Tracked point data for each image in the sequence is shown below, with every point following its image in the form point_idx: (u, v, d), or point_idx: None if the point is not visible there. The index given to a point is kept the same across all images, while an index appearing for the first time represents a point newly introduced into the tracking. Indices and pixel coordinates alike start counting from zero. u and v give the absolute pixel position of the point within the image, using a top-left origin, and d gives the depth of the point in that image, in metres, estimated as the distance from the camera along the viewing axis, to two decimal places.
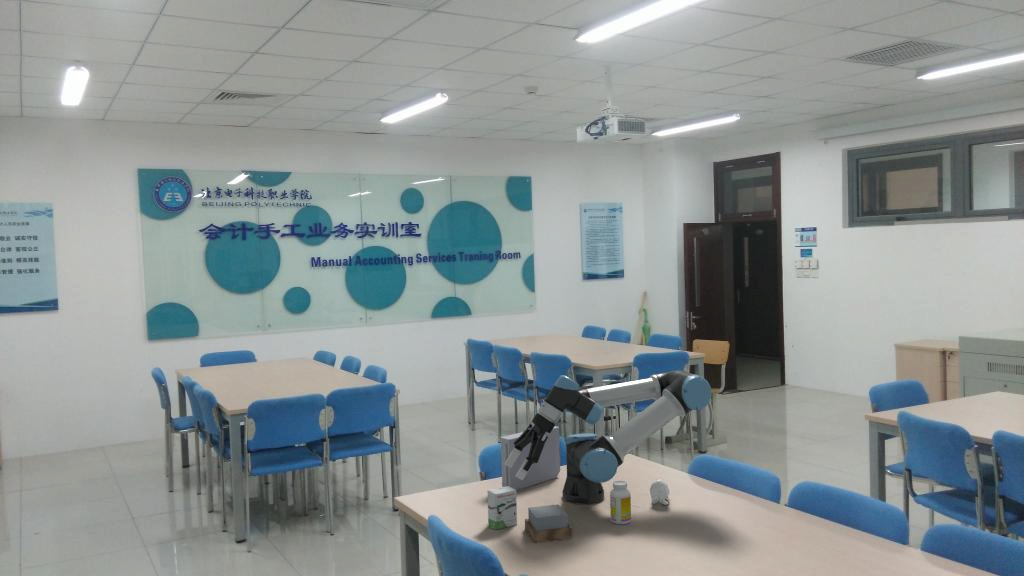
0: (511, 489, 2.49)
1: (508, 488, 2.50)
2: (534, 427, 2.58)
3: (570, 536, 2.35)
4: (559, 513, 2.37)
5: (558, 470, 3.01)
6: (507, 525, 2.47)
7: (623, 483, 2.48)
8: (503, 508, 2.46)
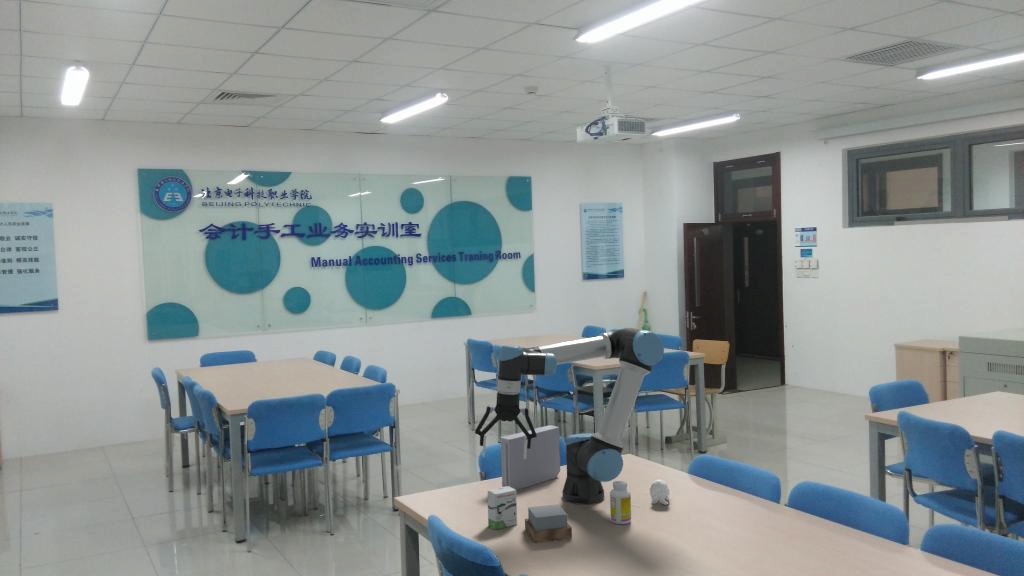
0: (511, 489, 2.49)
1: (508, 488, 2.50)
2: (501, 408, 2.48)
3: (570, 536, 2.35)
4: (559, 513, 2.37)
5: (558, 470, 3.01)
6: (507, 525, 2.47)
7: (623, 483, 2.48)
8: (503, 508, 2.46)
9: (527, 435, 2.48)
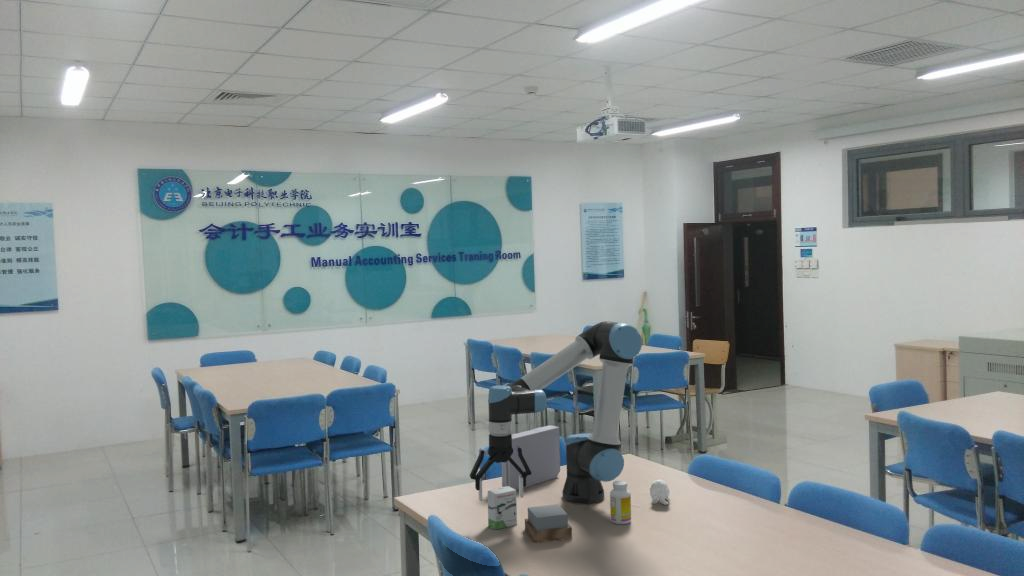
0: (511, 489, 2.49)
1: (508, 488, 2.50)
2: (495, 450, 2.46)
3: (570, 536, 2.35)
4: (560, 513, 2.37)
5: (558, 470, 3.01)
6: (507, 525, 2.47)
7: (623, 483, 2.48)
8: (503, 508, 2.46)
9: (522, 473, 2.48)
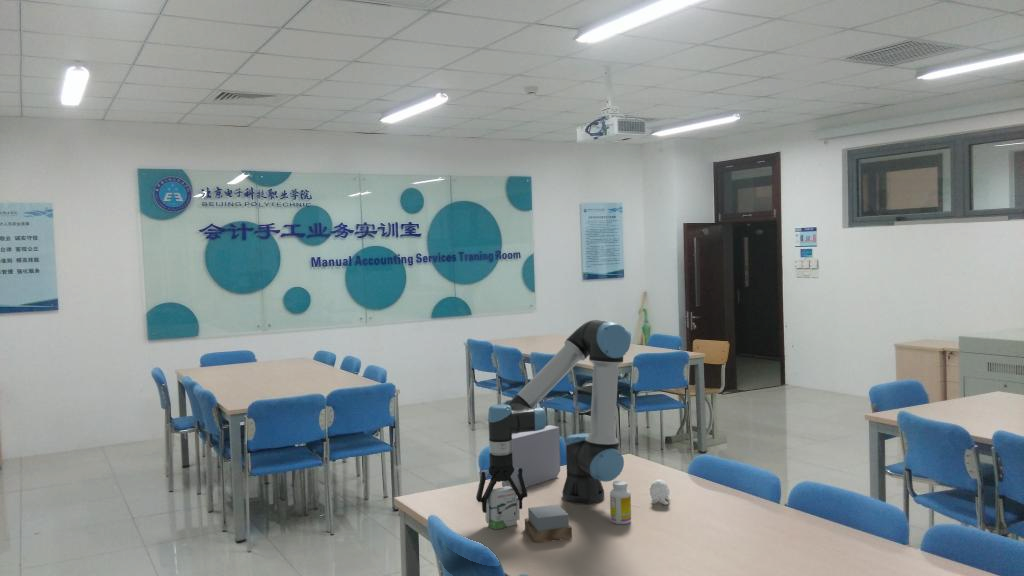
0: (511, 489, 2.49)
1: (508, 488, 2.50)
2: (495, 468, 2.46)
3: (570, 535, 2.35)
4: (560, 513, 2.37)
5: (558, 470, 3.01)
6: (507, 525, 2.47)
7: (623, 483, 2.48)
8: (503, 508, 2.46)
9: (519, 496, 2.48)
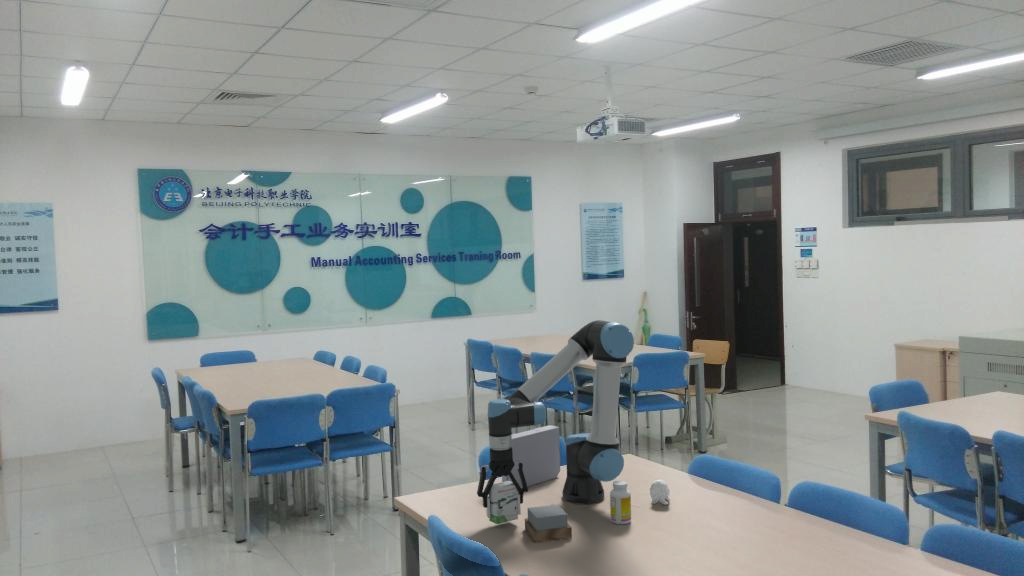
0: (512, 484, 2.49)
1: (509, 483, 2.50)
2: (495, 463, 2.46)
3: (570, 535, 2.36)
4: (559, 513, 2.37)
5: (558, 470, 3.01)
6: (508, 519, 2.47)
7: (623, 483, 2.48)
8: (504, 503, 2.46)
9: (519, 490, 2.49)
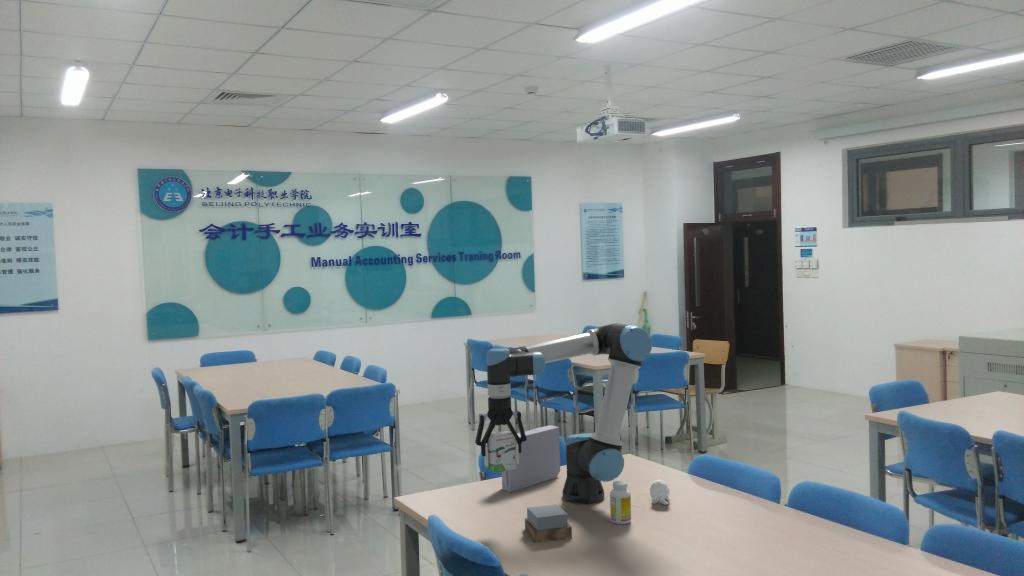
0: (510, 433, 2.48)
1: (507, 432, 2.49)
2: (494, 412, 2.46)
3: (570, 535, 2.36)
4: (560, 513, 2.37)
5: (558, 470, 3.01)
6: (506, 468, 2.46)
7: (623, 483, 2.48)
8: (502, 452, 2.45)
9: (518, 439, 2.48)
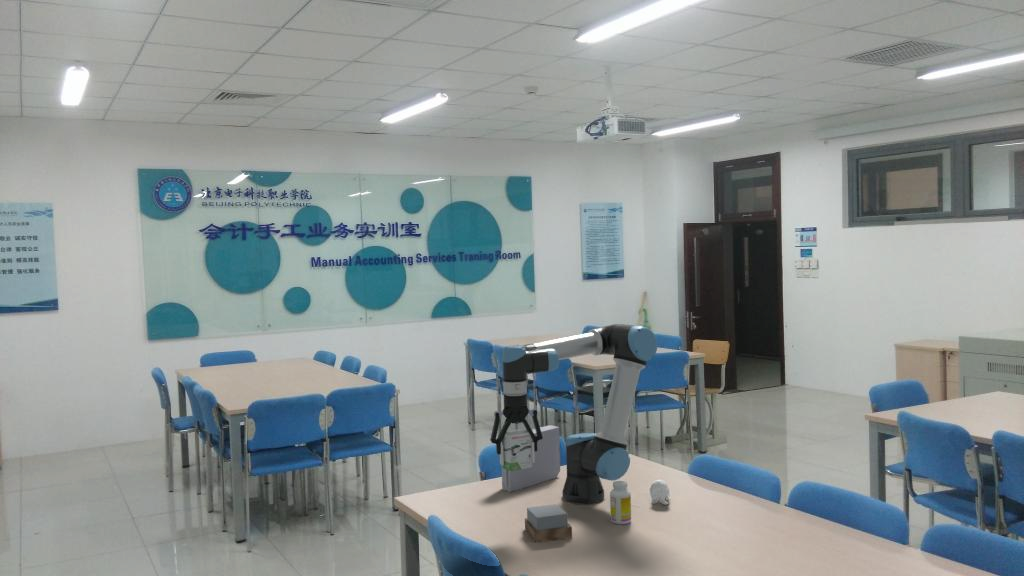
0: (526, 431, 2.45)
1: (523, 430, 2.46)
2: (509, 409, 2.43)
3: (570, 535, 2.36)
4: (559, 512, 2.37)
5: (558, 470, 3.01)
6: (522, 467, 2.43)
7: (623, 483, 2.48)
8: (518, 450, 2.42)
9: (533, 438, 2.44)
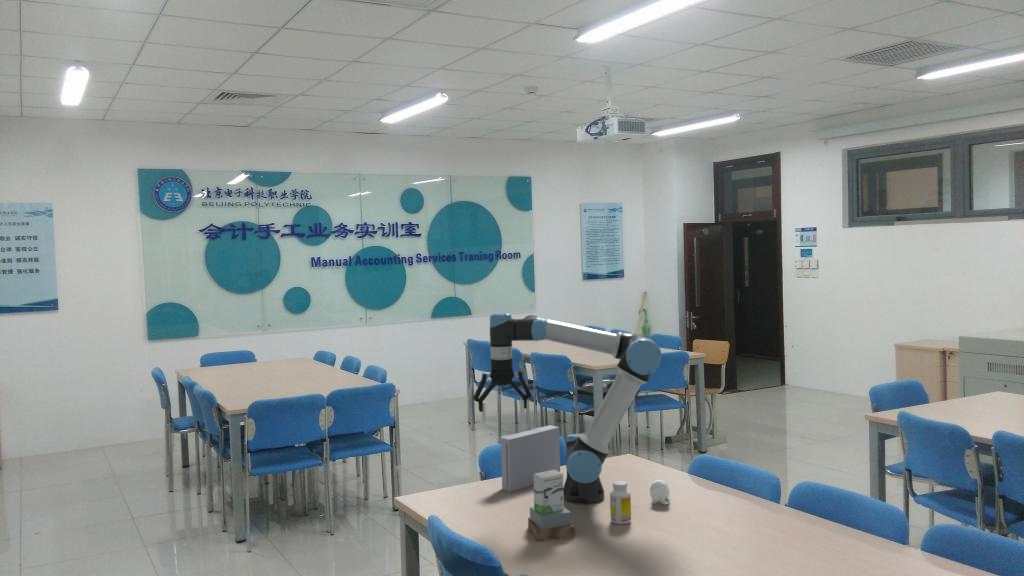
0: (558, 473, 2.40)
1: (554, 472, 2.41)
2: (496, 373, 2.60)
3: (573, 535, 2.36)
4: (563, 511, 2.39)
5: (558, 470, 3.01)
6: (554, 510, 2.38)
7: (623, 483, 2.48)
8: (550, 493, 2.37)
9: (523, 396, 2.62)
